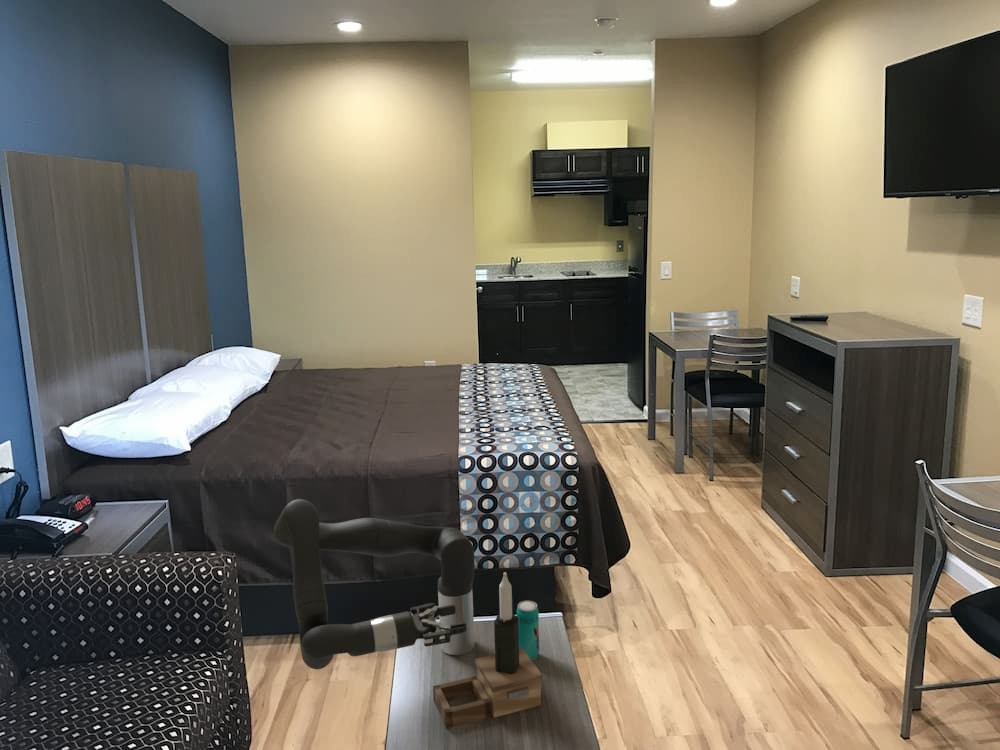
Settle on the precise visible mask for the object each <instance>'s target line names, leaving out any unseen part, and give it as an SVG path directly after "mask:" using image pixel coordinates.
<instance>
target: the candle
mask: <svg viewBox="0 0 1000 750" xmlns="http://www.w3.org/2000/svg"><path fill="white" fill-rule="evenodd" d="M512 587H513V586H512V584H511V582H510V581H509V579H508V574H507V572H506V571H505V572H503V576H502V579H501V582H500V584H499V587H498V588H499V589H498V593H499V613H498V614H497V616H496V618H495V620H494V621H493V631H494V636H493V638H494V654H495V670H496V671H497V672H503V673H509V674H514V673H515V672H516V671H517V669H518V667H519V624H518V616H517V614H514V613H513V593H512V591H513V590H512Z"/></svg>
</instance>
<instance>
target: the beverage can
mask: <svg viewBox="0 0 1000 750" xmlns="http://www.w3.org/2000/svg"><path fill="white" fill-rule="evenodd" d="M539 612H540V611H539V608H538V604H537V602H535V601H532V600H523V601H520V602H519V603H518V604H517V608H516V616H518V624H519V648H523V649H524V651H525V652H526V654H527V655H528V656H529V658H530V659H531V660H532V662H534V661H536V659H537V658H538V655H539V653H540V628H539V627H540V625H539V623H540V622H539V621H540V620H539V617H540V614H539Z"/></svg>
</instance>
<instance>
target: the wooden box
mask: <svg viewBox="0 0 1000 750" xmlns="http://www.w3.org/2000/svg"><path fill="white" fill-rule="evenodd" d="M474 662H475V666H476V672H477V673H476V675H474V676H470V677H466V678H463V679H462V678H461V679H458V680H453V681H449V682H445V683H442V684H441V683H440V684H438V685H437V684H436V685H433V686H432V692H433V702H434V705H435V707H436V708H437V710H438V713H439V715H440V717H441V720H442V722H443V724H444V726H445V728H446V729H450V728H454V727H458V726H462V725H466V724H468V723H473V722H477V721H481V720H484V719H488V718H491V717H492V716H493V718H498V717H502V716H506V715H508V714H509V715H510V714H513V713H517V712H520V711H525V710H528V709H531V708H536V707H541V705H542V696H541V695H542V692H541V691H542V687H541V686H542V683H541V682H542V681H543V675H542V673H541V671H540V670H539V669H538V668H537V666H536V664H535V663H534V661H532V660H531V659H530V658H529V656H528V655H527V654H526V652H525V651H524V649H523V648H519V667H518V669H517V671H516V672H515V673H514V674H509V673H503V672H497V671H496V670H495V653H494V654H490V655H486V656H481V657H477V658H475V659H474ZM470 696H472V697H473V698H474V700H475V701H471V702H468V703H464V704H459V705H456V706H450V704H449V703H448V702H450V701H455V700H459V699H463V698H466V697H470Z"/></svg>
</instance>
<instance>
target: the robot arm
mask: <svg viewBox="0 0 1000 750" xmlns="http://www.w3.org/2000/svg"><path fill="white" fill-rule="evenodd" d="M273 536H274V538H275V540H276V541H277V542H278V543H279V544H280V545H281V546H283V547H285V548H288V549H292V550H293V551H292V552H293V575H292V594H293V595H292V596H293V601H294V603H293V604H294V608H295V614H296V615H295V616H296V618H297V622H298V629H299V630H298V631H299V644H300V645H299V646H300V654H301V658H302V661H303V662H304V663H305V665H306V666H307V667H309V669H312V670H322V669H324V668H326V667H327V666H328V665H329V664H331V661H332V660H333V658H334V656H335V655H339V654H348V655H349V656H351V657H359V656H360V657H361V656H364V655H369V654H370V655H371V654H373V653H380V652H381V653H383V652H388V651H394V650H398V649H403V648H406V647H411V646H414V645H415V644H416V642H417V640H420V639H421V640H423V646H424V647H431V646H436V645H437V646H439V645H440V649H441V651H442V652H443V653H445V654H446V655H452V656H462V655H465V654H468V653H470V652H472V651H473V649H474V648H475V632H474V631H475V626H474V621H475V619H474V599H473V596H474V595H473V583H474V580H475V548H474V545H473V544H472V542H471V541H470V540H469V538H468V537H467V536H466V534H464V533H463V531H461V530H459V529H458V528H455V527H451V526H449V527H447V526H424V525H423V526H422V525H416V524H411V523H406V522H400V521H393V520H388V519H382V518H378V517H377V518H375V517H362V518H355V519H350V520H346V521H341V522H335V523H334V522H332V523H331V522H330V523H327V522H320V514H319V512H318V509H317V508H316V506H315V505H314V504H313V503H312V502H310V501H308V500H307V499H301V498H298V499H293V500H291V501H290V502H288V503H287V504H286V506H284V508H283V509H282V511H281V513H280V514H279V517H278V519H277V520H276V523H275V524H274V527H273ZM321 550H324V551H325V550H327V551H334V552H335V551H336V552H337V551H338V552H343V553H344V552H345V553H355V554H363V555H366V556H367V555H368V556H375V557H383V558H384V557H385V558H389V557H397V556H402V555H406V554H409V553H418V554H423V555H428V556H432V557H436V558H437V559H438V560H439V561H440V568H441V569H440V571H441V572H440V573H441V575H440V576H439V577H438V580H437V596H438V598H437V599H438V605H435V603H434V602H430V603H425V604H420V605H417V606H412V607H410V608H409V609H410V611H402V612H399V613H393V614H389V615H383V616H379V617H376V618H374V619H370V620H366V621H360V622H355V623H351V624H349V623H348V624H346V623H341V624H340V623H331V624H330V623H329V607H328V601H327V596H326V590H325V585H324V579H323V572H322V564H321V562H322V561H321V552H320V551H321ZM438 618H439V621H437V619H438Z"/></svg>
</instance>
